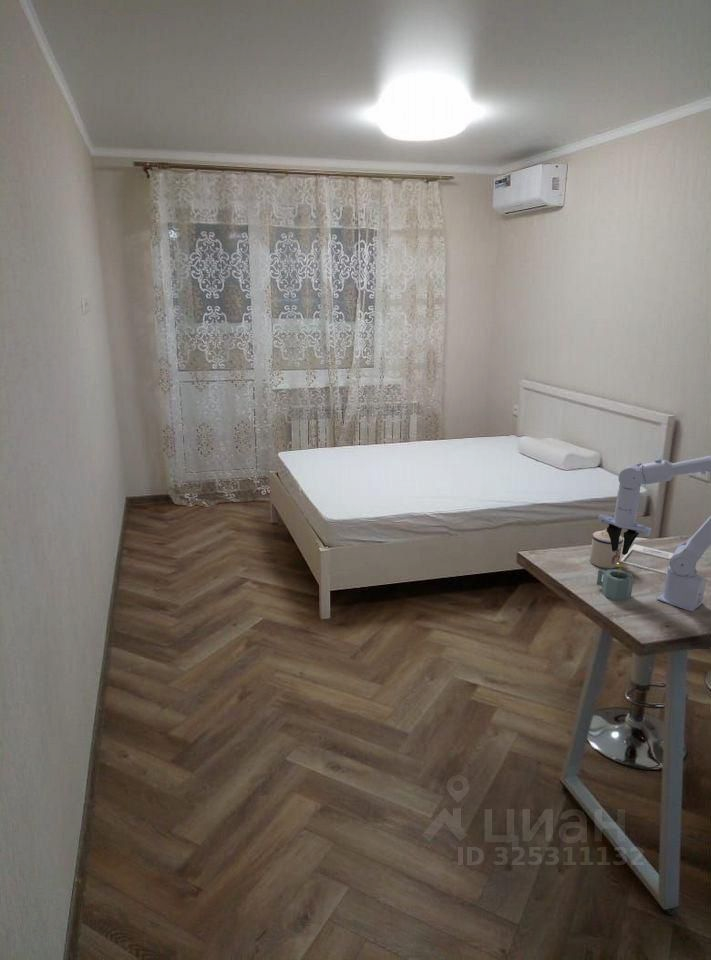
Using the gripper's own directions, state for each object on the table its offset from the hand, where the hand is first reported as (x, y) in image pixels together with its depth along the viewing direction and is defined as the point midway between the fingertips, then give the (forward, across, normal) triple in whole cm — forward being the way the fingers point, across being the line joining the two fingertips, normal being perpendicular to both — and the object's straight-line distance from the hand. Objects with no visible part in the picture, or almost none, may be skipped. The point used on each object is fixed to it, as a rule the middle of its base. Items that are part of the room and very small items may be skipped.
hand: (619, 552), depth 184 cm
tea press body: (+10, -2, +5) cm, 12 cm away
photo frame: (+11, +1, -27) cm, 29 cm away
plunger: (+6, -3, +6) cm, 9 cm away
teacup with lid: (+11, +10, -14) cm, 20 cm away
